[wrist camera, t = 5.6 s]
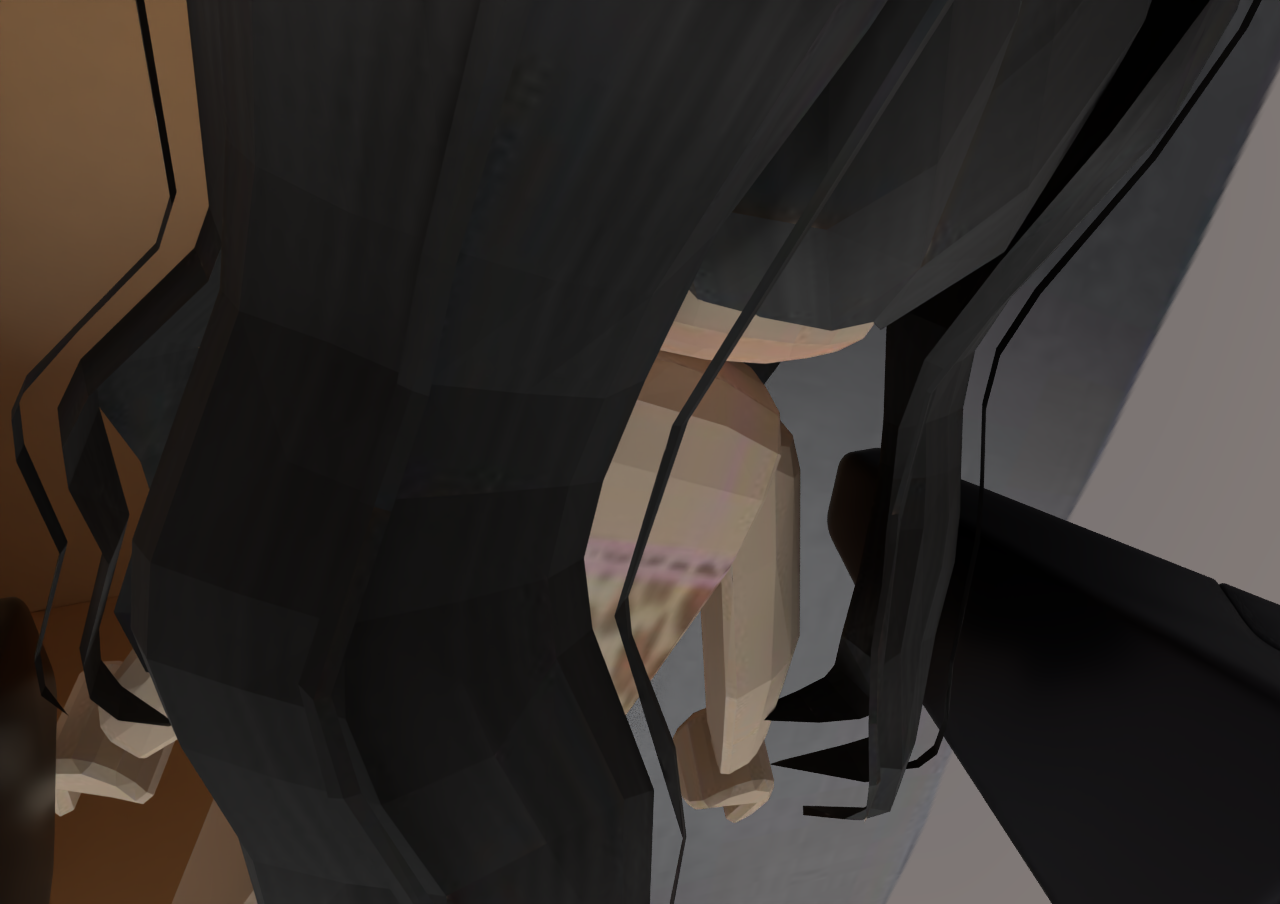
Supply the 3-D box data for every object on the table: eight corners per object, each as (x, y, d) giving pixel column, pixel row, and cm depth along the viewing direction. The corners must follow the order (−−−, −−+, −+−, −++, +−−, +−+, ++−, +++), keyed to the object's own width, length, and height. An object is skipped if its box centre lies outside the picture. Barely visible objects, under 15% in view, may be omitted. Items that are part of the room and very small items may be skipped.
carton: (503, 524, 23) (616, 793, 17) (-21, 624, 19) (-124, 1014, 13) (468, -515, 13) (721, -799, 7) (-658, -719, 9) (-2451, -1789, 3)
